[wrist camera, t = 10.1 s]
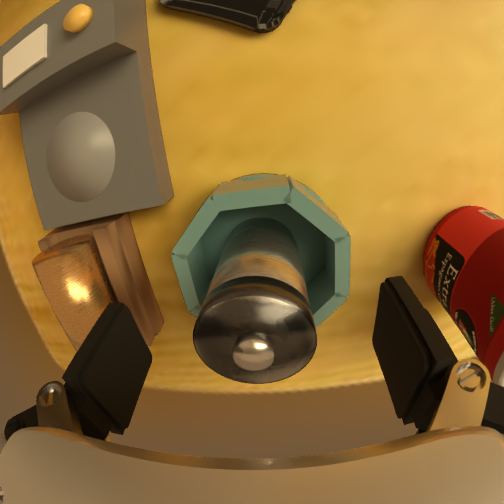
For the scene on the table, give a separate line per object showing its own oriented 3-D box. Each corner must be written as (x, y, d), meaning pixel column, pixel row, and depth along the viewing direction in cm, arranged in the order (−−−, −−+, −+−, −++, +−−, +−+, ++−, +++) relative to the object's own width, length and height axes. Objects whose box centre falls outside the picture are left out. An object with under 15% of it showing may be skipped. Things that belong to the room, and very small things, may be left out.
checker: (33, 55, 12) (-11, 52, 7) (145, -4, 11) (108, -33, 6) (59, 220, 18) (18, 248, 13) (174, 195, 17) (141, 223, 12)
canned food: (407, 234, 17) (505, 342, 7) (485, 184, 15) (594, 247, 5) (429, 309, 19) (490, 412, 9) (496, 262, 17) (571, 339, 7)
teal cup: (178, 185, 16) (155, 202, 13) (332, 166, 15) (351, 178, 12) (208, 310, 20) (198, 346, 17) (336, 298, 19) (347, 334, 16)
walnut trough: (57, 227, 18) (36, 242, 15) (128, 212, 17) (107, 227, 15) (96, 321, 22) (82, 341, 19) (164, 321, 21) (153, 345, 18)
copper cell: (58, 239, 17) (20, 268, 13) (103, 230, 16) (64, 262, 12) (100, 334, 20) (76, 371, 16) (143, 335, 20) (122, 377, 16)
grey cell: (217, 221, 16) (172, 310, 9) (295, 211, 16) (318, 297, 8) (231, 287, 18) (207, 395, 10) (301, 280, 18) (318, 389, 10)
